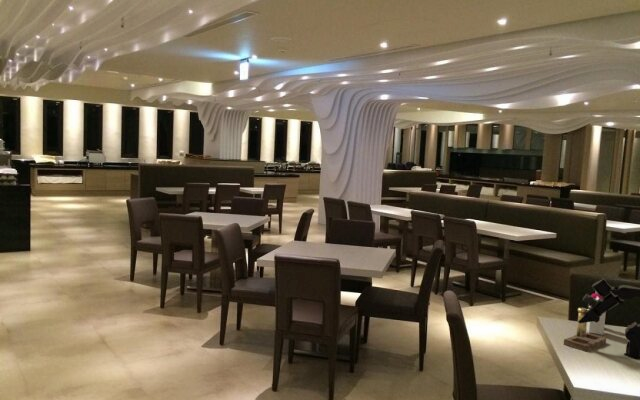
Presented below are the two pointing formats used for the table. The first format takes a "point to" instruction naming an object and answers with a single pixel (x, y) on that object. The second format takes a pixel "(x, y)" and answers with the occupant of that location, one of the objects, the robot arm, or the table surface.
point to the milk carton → (597, 325)
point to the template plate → (585, 341)
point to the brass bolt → (581, 326)
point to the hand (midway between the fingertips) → (579, 321)
